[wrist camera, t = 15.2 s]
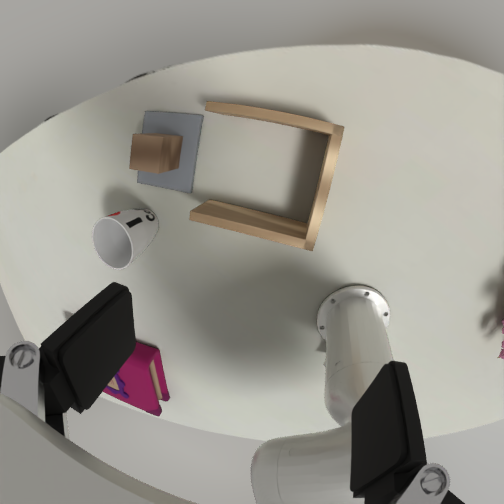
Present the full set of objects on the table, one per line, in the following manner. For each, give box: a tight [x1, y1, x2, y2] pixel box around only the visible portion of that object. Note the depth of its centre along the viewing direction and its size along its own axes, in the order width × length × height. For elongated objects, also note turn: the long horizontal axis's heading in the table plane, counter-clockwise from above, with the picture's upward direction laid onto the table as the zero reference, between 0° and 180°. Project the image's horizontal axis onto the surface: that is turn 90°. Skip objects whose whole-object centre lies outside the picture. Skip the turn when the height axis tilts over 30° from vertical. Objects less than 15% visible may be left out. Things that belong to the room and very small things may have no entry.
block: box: [129, 133, 183, 174], centre depth 37 cm, size 5×5×6 cm
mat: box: [137, 111, 203, 193], centre depth 40 cm, size 12×10×1 cm
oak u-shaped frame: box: [189, 101, 344, 251], centre depth 35 cm, size 15×16×7 cm
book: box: [103, 342, 170, 416], centre depth 61 cm, size 21×28×8 cm
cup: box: [92, 209, 159, 270], centre depth 41 cm, size 8×8×10 cm
